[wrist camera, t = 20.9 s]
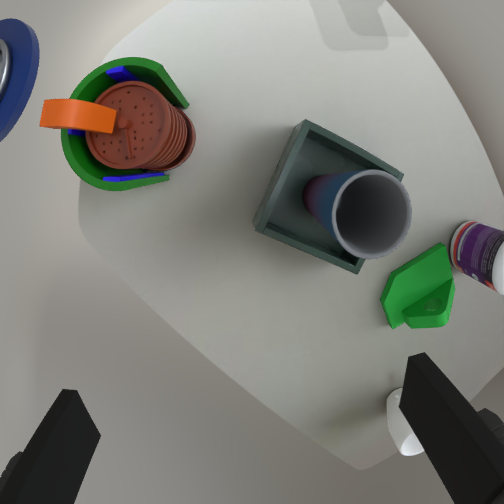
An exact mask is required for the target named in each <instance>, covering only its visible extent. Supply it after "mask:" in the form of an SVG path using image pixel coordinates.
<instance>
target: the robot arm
mask: <svg viewBox="0 0 504 504" xmlns="http://www.w3.org/2000/svg"><path fill="white" fill-rule="evenodd" d="M12 68H13V53H12V49H11V47H10V45H9V44H8V43H7V42H6V41H5V40H2V39H0V103H1V101H2V99H3V97H4V95H5V93H6V90H7V87H8V85H9V82H10V78H11V74H12ZM399 409H400V410H401V412H402V414H403V415H404V417H405V418H406V420H407V422H408V423H409V425H410V427H411V428H412V430H413V432H414V433H415V435H416V437H417V439H418V440H419V442H420V444H421V445H422V447H423V449H424V450H425V452H426V454H427V455H428V457H429V459H430V461H431V462H432V464H433V466H434V468H435V469H436V471H437V473H438V475H439V477H440V478H441V480H442V482H443V484H444V485H445V487H446V489H447V490H448V493H449V494H450V496H451V498H452V500H453V501H454V504H504V423H503V422H502V420H501V419H500V418H499V417H498V416H497V415H496V414H495V413H493V412H491V411H489V410H488V409H486V408H484V409H482V410H480V411H479V412H476V411H475V410H474V408H473V407H472V406H471V405H470V403H469V402H468V401H467V400H466V399H465V398H464V396H463V395H462V394H461V393H460V392H459V391H458V389H457V388H456V387H455V386H454V385H453V384H452V383H451V381H450V380H449V379H448V378H447V377H446V376H445V375H444V373H443V372H442V371H441V370H440V369H439V368H438V367H437V366H436V364H435V363H434V362H433V361H432V360H431V359H430V358H429V357H428V355H427V354H426V353H425V352H424V353H420V354H417V355H413V356H410V357H408V362H407V368H406V374H405V379H404V384H403V389H402V393H401V398H400V402H399ZM100 437H101V435H100V433H99V431H98V429H97V428H96V426H95V424H94V422H93V420H92V419H91V417H90V415H89V413H88V411H87V409H86V407H85V405H84V404H83V401H82V399H81V397H80V395H79V393H78V391H77V390H68V389H63V390H62V391H61V392H60V394H59V396H58V397H57V399H56V400H55V402H54V403H53V405H52V406H51V408H50V409H49V411H48V412H47V414H46V416H45V417H44V419H43V420H42V422H41V423H40V425H39V427H38V428H37V430H36V431H35V433H34V435H33V437H32V438H31V440H30V441H29V443H28V445H27V446H26V448H25V450H24V451H23V452H18V453H17V454H16V455H15V456H13V457H12V458H11V459H10V461H9V463H8V465H7V466H6V470H4V471H3V473H2V475H1V476H2V477H0V504H74V502H75V500H76V497H77V494H78V492H79V489H80V486H81V484H82V481H83V479H84V476H85V474H86V471H87V469H88V466H89V464H90V461H91V458H92V456H93V454H94V451H95V449H96V447H97V444H98V442H99V439H100Z"/></svg>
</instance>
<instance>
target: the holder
mask: <svg viewBox="0 0 504 504" xmlns="http://www.w3.org/2000/svg"><path fill="white" fill-rule="evenodd" d="M361 170H381V171H385V172H387V173H389V174H391V175H393V176H394V177H396V178H397V179H398V180H399V181H400V182H401V181H402V178H403V176H404V174H403V173H401V172H400V171H398V170H397V169H395V168H394V167H392V166H390V165H389V164H387V163H385V162H384V161H382V160H380V159H379V158H377V157H375V156H374V155H372V154H370V153H369V152H367V151H365V150H363V149H362V148H360V147H358V146H356V145H354V144H353V143H351V142H349V141H347V140H345V139H343V138H342V137H340V136H338V135H336V134H334V133H332V132H330V131H328V130H326V129H324V128H322V127H320V126H318V125H316V124H314V123H312V122H310V121H308V120H306V119H305V120H303V121H302V122H301V123H299V124H298V125H296V126H295V128H294V130H293V132H292V134H291V136H290V139H289V141H288V143H287V145H286V148H285V150H284V152H283V154H282V156H281V159H280V161H279V163H278V165H277V167H276V170H275V172H274V174H273V176H272V179H271V181H270V183H269V185H268V188H267V190H266V192H265V194H264V196H263V199H262V201H261V203H260V205H259V208H258V210H257V212H256V214H255V217H254V219H253V224H254V228H255V231H257V232H259V233H263V234H264V235H267V236H269V237H271V238H274V239H276V240H278V241H281V242H283V243H285V244H288V245H290V246H292V247H295V248H297V249H299V250H302V251H304V252H306V253H309V254H311V255H313V256H316V257H318V258H320V259H323V260H325V261H327V262H329V263H332V264H334V265H336V266H339V267H341V268H343V269H345V270H348V271H350V272H352V273H354V274H358V273H359V271H360V269H361V267H362V265H363V263H364V261H365V259H363V258H359V257H356V256H354V255H352V254H351V253H349V252H348V251H346V250H345V249H344V248H343V247H342V246H341V245H340V244H339V242H338V241H337V240H336V239H335V238H334V237H333V236H332V235H331V234H330V233H329V232H328V231H327V230H326V229H325V228H324V227H323V226H322V225H321V224H320V222H319V221H318V220H317V219H316V218H315V217H314V216H313V215H312V214H311V213H310V212H309V211H308V210H307V209H306V207H305V205H304V203H303V197H302V195H303V190H304V187H305V185H306V184H307V182H308V181H309V180H311V179H312V178H314V177H316V176H320V175H327V174H335V173H344V172H352V171H361Z"/></svg>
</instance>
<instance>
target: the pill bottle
mask: <svg viewBox="0 0 504 504" xmlns="http://www.w3.org/2000/svg"><path fill="white" fill-rule="evenodd" d="M450 256H451V260H452V263H453V265H454V266H455V268H456V269H458V270H459V271H461V272H462V273H464V274H466V275H468V276H470V277H472V278H474V279H475V280H477V281H479V282H481V283H482V284H484V285H486V286H488V287H490V288H491V289H493V290H495V291H496V292H498V293H500V294H502V295H504V230H501V229H498V228H495V227H492V226H489V225H486V224H483V223H479V222H476V221H468V222H465V223H463V224H462V225H461V226H460V227H459V228H458V229H457V230H456V232H455V233H454V235H453V238H452V241H451V246H450Z"/></svg>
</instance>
